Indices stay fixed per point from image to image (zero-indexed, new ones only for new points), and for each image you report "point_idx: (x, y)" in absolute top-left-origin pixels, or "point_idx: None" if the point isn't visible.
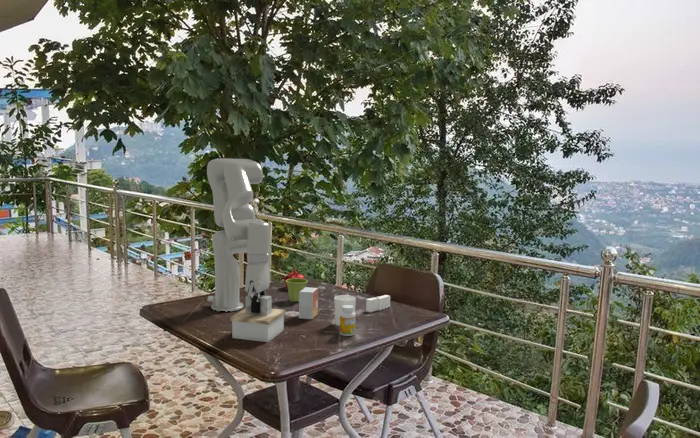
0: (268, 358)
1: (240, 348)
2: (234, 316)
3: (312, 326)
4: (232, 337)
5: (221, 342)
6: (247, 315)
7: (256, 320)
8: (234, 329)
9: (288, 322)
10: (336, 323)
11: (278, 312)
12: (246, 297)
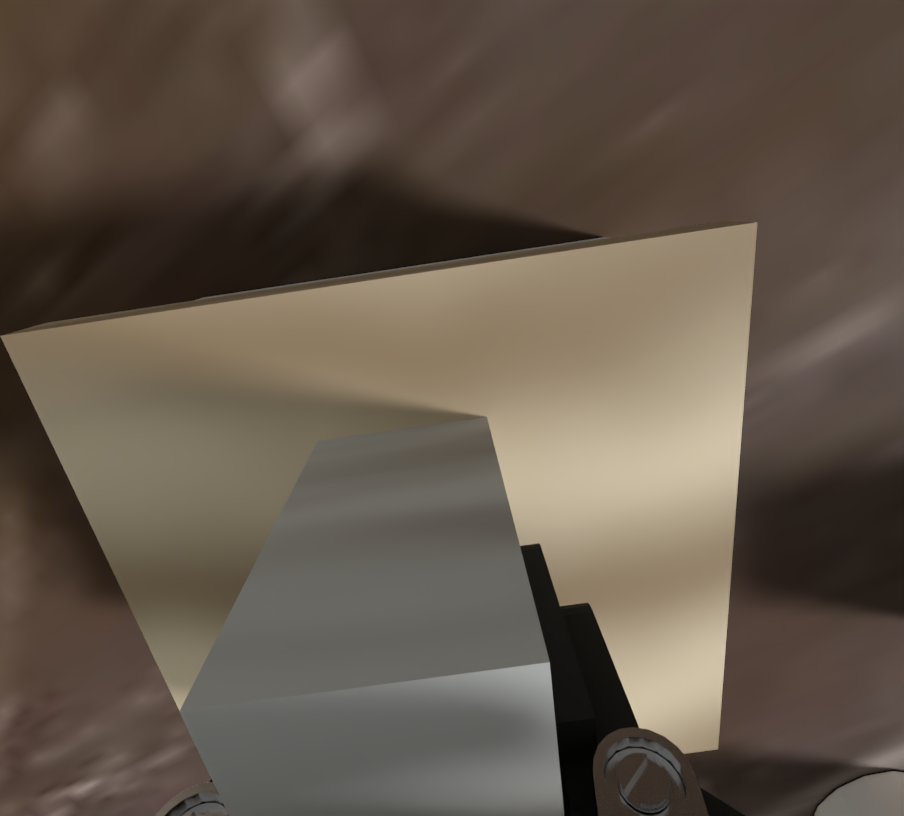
0: (63, 750)
1: (57, 520)
2: (83, 376)
3: (771, 688)
4: (200, 299)
5: (34, 282)
6: (260, 514)
7: (177, 700)
8: None
9: (833, 500)
10: (844, 802)
11: None
12: (207, 706)
